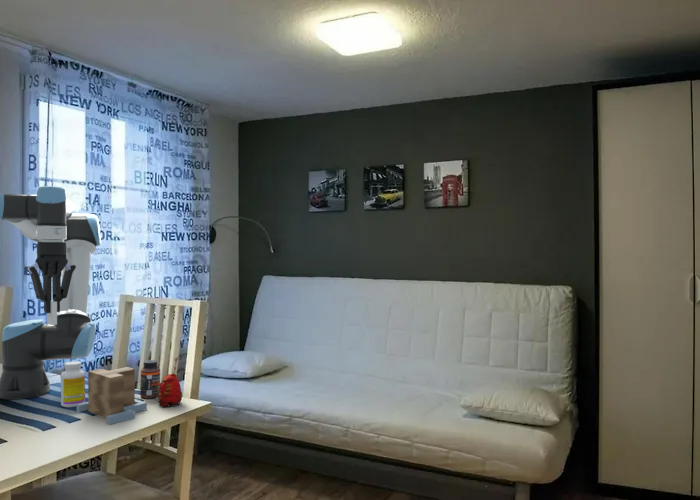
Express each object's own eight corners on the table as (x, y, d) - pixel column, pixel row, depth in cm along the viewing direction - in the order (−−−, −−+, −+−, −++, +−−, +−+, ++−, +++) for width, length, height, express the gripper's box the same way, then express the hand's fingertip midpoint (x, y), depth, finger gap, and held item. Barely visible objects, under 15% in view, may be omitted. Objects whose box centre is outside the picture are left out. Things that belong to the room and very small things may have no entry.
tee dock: (76, 411, 167) (76, 404, 167) (120, 400, 178) (120, 394, 178) (109, 424, 156) (109, 417, 156) (154, 411, 167) (154, 405, 167)
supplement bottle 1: (88, 404, 173) (88, 362, 173) (65, 409, 169) (65, 366, 168) (79, 400, 178) (79, 359, 178) (57, 404, 173) (57, 362, 173)
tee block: (88, 411, 167) (88, 371, 166) (119, 403, 175) (119, 364, 174) (110, 420, 160) (110, 377, 159) (142, 411, 168) (142, 371, 167)
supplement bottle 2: (153, 399, 180) (153, 363, 179) (136, 398, 181) (136, 362, 180) (163, 394, 185) (163, 359, 185) (146, 393, 187) (146, 358, 186)
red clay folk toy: (155, 402, 177) (156, 354, 176) (178, 399, 180) (179, 352, 180) (160, 409, 170) (160, 359, 170) (184, 406, 174) (184, 357, 173)
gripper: (33, 241, 153) (34, 328, 154) (81, 241, 164) (81, 322, 165) (21, 241, 158) (21, 325, 159) (68, 240, 168) (68, 320, 169)
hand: (52, 324), depth 162 cm, fingers closed
